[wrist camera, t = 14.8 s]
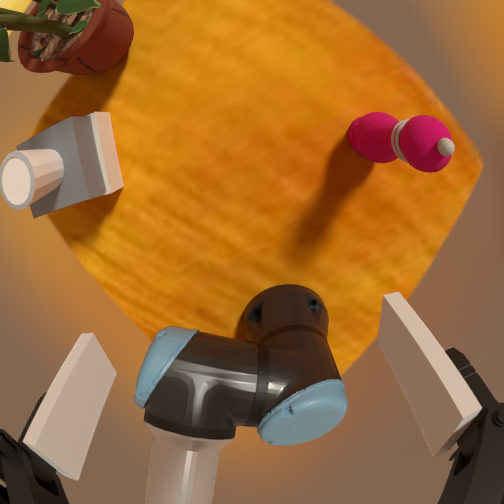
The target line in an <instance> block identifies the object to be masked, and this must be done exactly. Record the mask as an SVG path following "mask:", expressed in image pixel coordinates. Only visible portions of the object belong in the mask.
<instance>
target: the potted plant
mask: <svg viewBox="0 0 504 504" xmlns="http://www.w3.org/2000/svg"><path fill="white" fill-rule="evenodd" d="M33 1H35V2H37V4H36V5H35V7H34V8H33V9H32V11H31V12H30V14H29V15H28V14H25V13H21V12H17V11H13V10H8V9H4V8H0V61H2V62H13V60H11V52H10V46H9V39H8V33H7V30H15V31H21V33H20V37H19V41H18V55H19V59H20V62H21V64H22V65H23V66H24V68H26V69H27V70H29V71H32V72H37V73H47V72H52V71H60V72H65V73H70V74H75V75H89V74H97V73H101V72H104V71H106V70H108V69H110V68H111V67H113V66H114V65H115V64H117V63H118V62H119V61H120V60H121V59H122V58H123V57H124V55H125V54H126V53H127V51H128V49H129V47H130V46H131V43H132V40H133V35H134V27H133V24H132V21H131V19H130V17H129V15H128V13H127V12H126V10H125V9H124V8H123V7H122V6H121V5H120V4H119V3H118V2H117V1H116V0H33Z"/></svg>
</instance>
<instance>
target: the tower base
mask: <svg viewBox="0 0 504 504" xmlns="http://www.w3.org/2000/svg"><path fill="white" fill-rule="evenodd" d="M86 116H91V122H92V128H93V133H94V138H95V143H96V148H97V153H98V157H99V162H100V166H101V170H102V174H103V178H104V182H105V186H106V191H104V192H102V193H100V194H98V195H96V196H94V197H92V198H96V197H99V196H103V195H106V194H110V193H113V192H115V191H116V190H118V189H120V188H122V187H124V184H123V180H122V175H121V171H120V166H119V162H118V157H117V152H116V147H115V141H114V136H113V130H112V124H111V118H110V113H108V112H93V113H91V114H88V115H86ZM92 198H90V199H92ZM88 200H89V199H88ZM78 203H79V202H78Z"/></svg>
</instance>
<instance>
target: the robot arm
mask: <svg viewBox="0 0 504 504" xmlns="http://www.w3.org/2000/svg"><path fill="white" fill-rule="evenodd" d="M328 323H329V318H328V313H327V310H326V307H325V305H324V303H323V301H322V299H321V298H320V297H319V295H317V294H316V293H315V292H314V291H312V290H311V289H309V288H306V287H303V286H300V285H292V284H287V285H279V286H275V287H271V288H269V289H267V290H264V291H263V292H261V293H259V294H258V295H257V296H256V297H254V298H253V299H252V300H251V302H250V303H249V304H248V306H247V308H246V310H245V312H244V316H243V332H244V336H245V339H246V340H240V339H234V338H229V337H223V336H218V335H214V334H209V333H205V332H200V331H199V329H194V330H192V329H186V328H180V327H175V326H168V327H165V328H163V329H162V330H160V331H159V332H158V333H157V335H156V336H155V338H154V339H153V341H152V343H151V345H150V347H149V349H148V352H147V354H146V356H145V358H144V361H143V364H142V367H141V369H140V373H139V376H138V379H137V383H136V391H135V395H134V401H135V403H136V404H137V405H139V407H140V408H145V415H144V423H145V425H146V426H147V427H148V429H149V430H150V431H151V432H152V434H153V443H152V449H151V457H150V464H149V473H148V481H147V490H146V500H145V504H212V498H213V491H214V485H215V479H216V473H217V466H218V460H219V454H220V449H221V448H222V447H223V446H225V445H227V444H228V443H230V442H231V441H233V440H234V437H235V431H236V427H237V426H249V427H256V428H257V432H258V434H259V436H260V438H261V439H262V440H263V441H265V442H268V443H270V444H272V445H279V446H281V445H283V446H285V445H294V444H300V443H303V442H307V441H310V440H313V439H315V438H317V437H319V436H322V435H324V434H326V433H327V432H329V431H330V430H332V429H333V428H334V427H335V426H336V425H338V424H339V422H340V421H341V420H342V419H343V417H344V416H345V414H346V411H347V400H346V395H345V391H344V384H343V382H342V380H341V377H340V374H339V372H338V369H337V366H336V363H335V361H334V358H333V355H332V353H331V350H330V347H329V345H328V342H327V333H328ZM377 343H378V345H379V347H380V349H381V351H382V353H383V354H384V357H385V358H386V360H387V362H388V364H389V366H390V368H391V370H392V372H393V374H394V375H395V378H396V380H397V382H398V383H399V386H400V387H401V390H402V391H403V394H404V396H405V398H406V400H407V402H408V404H409V406H410V408H411V410H412V412H413V414H414V417H415V419H416V421H417V423H418V425H419V427H420V429H421V432H422V434H423V436H424V438H425V441H426V443H427V445H428V447H429V450H430V452H431V454H432V457H435V456H438V455H439V454H442V453H443V452H445V451H448V450H450V449H451V448H452V446H453V445H454V444H455V443H456V442H457V444H458V446H459V448H458V449H457V450H456V451H455V452H454V453H453V454H452V456H451V457H450V459H449V461H451V460H452V459H454V457H455V459H454V462H453V465H452V468H451V471H450V474H449V477H448V479H447V482H446V485H445V487H444V490H443V492H442V495H441V497H440V500H439V502H438V504H504V403H498V402H497V401H496V400H495V398H494V397H493V395H492V394H491V392H490V391H489V389H488V388H487V386H486V385H485V383H484V382H483V380H482V379H481V378H480V376H479V375H478V373H476V371H475V369H474V368H473V366H471V365H470V362H469V361H468V359H467V358H466V357H465V355H464V354H462V353H461V352H459V351H458V350H456V349H455V348H451V349H448V350H446V351H444V350H443V349H442V347H441V346H440V344H439V343H438V342H437V340H436V339H435V338H434V337H433V335H432V334H431V332H430V331H429V330H428V328H427V327H426V326H425V324H424V323H423V322H422V320H421V319H420V318H419V317H418V315H417V314H416V313H415V312H414V310H413V309H412V308H411V306H410V305H409V304H408V303H407V302H406V300H405V299H404V298H403V297H402V295H401V294H400V293H399V292H395V293H391V294H387V295H383V303H382V311H381V319H380V326H379V333H378V340H377ZM116 374H117V373H116V371H115V370H114V368H113V366H112V365H111V363H110V362H109V360H108V358H107V356H106V355H105V353H104V351H103V349H102V348H101V346H100V344H99V342H98V341H97V339H96V337H95V335H94V333H87V334H86V333H84V334H81V336H80V337H79V339H78V340H77V342H76V344H75V345H74V347H73V348H72V350H71V352H70V353H69V355H68V357H67V358H66V360H65V362H64V363H63V365H62V367H61V368H60V370H59V372H58V374H57V375H56V377H55V379H54V381H53V382H52V384H51V386H50V388H49V390H48V392H46V393H45V394H44V395H43V396H42V397H41V398H40V399H39V400H38V402H37V404H36V406H35V410H33V412H32V414H31V417H30V418H29V420H28V422H27V424H26V426H25V428H24V430H23V432H22V434H21V437H20V438H19V440H18V442H16V441H15V440H14V439H13V438H12V437H11V436H10V435H9V434H8V433H7V432H6V431H5V430H3V429H0V479H1V480H2V481H4V482H5V483H6V488H5V487H3V486H2V485H0V504H69V502H68V500H67V497H66V495H65V492H64V490H63V487H62V484H61V481H60V479H59V477H58V475H56V474H55V473H56V470H57V471H59V472H60V473H61V474H63V475H64V476H66V477H69V478H72V479H75V480H79V477H80V473H81V470H82V467H83V464H84V461H85V457H86V454H87V451H88V448H89V445H90V442H91V440H92V437H93V434H94V431H95V428H96V425H97V423H98V420H99V417H100V414H101V412H102V409H103V406H104V404H105V401H106V399H107V396H108V393H109V391H110V389H111V386H112V384H113V381H114V379H115V377H116Z"/></svg>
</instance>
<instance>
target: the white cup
mask: <svg viewBox="0 0 504 504" xmlns="http://www.w3.org/2000/svg"><path fill="white" fill-rule="evenodd" d="M63 175H64V165H63V160H62V158H61V156H60V155H59V153H58V152H56V151H55V150H54V149H36V150H22V151H13V152H12V153H10V154H8V155H7V156H6V158H5V159H4V161H3V162H2V165H1V169H0V189H1V193H2V196H3V197H4V199H5V201H6V203H7V204H8V205H9V206H10V207H11V208H13V209H17V210H21V209H24V208H26V207H28V206H29V205H31V204H32V203H34V202H35V201H37V200H38V199H40V198H41V197H43V196H45V195H46V194H48V193H49V192H51V191H53V190H54V189H56V188H57V187H58V186H59V185H60V183H61V181H62V178H63Z"/></svg>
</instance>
